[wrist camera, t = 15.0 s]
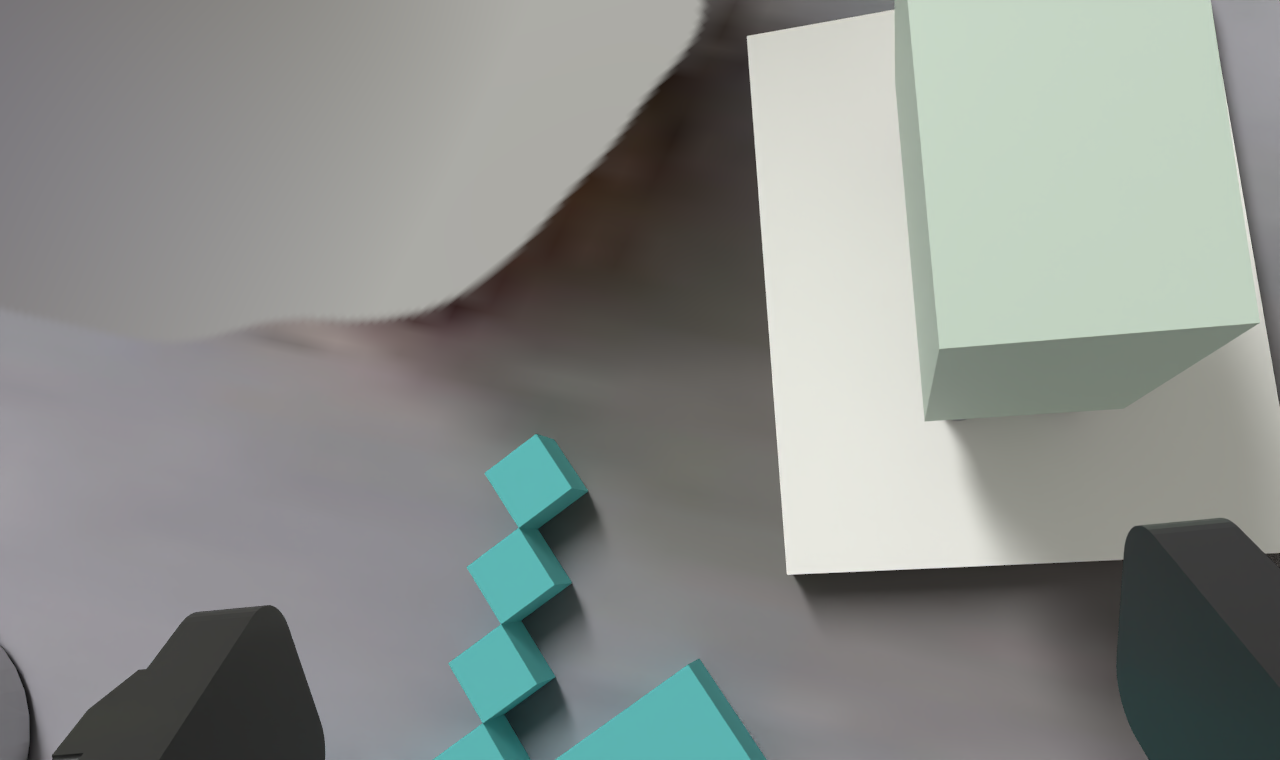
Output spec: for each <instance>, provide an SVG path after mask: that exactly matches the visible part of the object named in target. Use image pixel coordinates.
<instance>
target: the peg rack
mask: <svg viewBox="0 0 1280 760" xmlns="http://www.w3.org/2000/svg"><path fill="white" fill-rule="evenodd" d="M747 46H748V60H749V73H750V86H751V100H752V113H753V127H754V140H755V153H756V167H757V180H758V193H759V207H760V220H761V233H762V247H763V260H764V273H765V287H766V300H767V313H768V327H769V340H770V353H771V367H772V380H773V394H774V407H775V420H776V434H777V447H778V460H779V474H780V487H781V500H782V514H783V527H784V540H785V554H786V567H787V575H793V574H816V573H838V572H861V571H883V570H906V569H928V568H951V567H973V566H996V565H1018V564H1041V563H1063V562H1086V561H1108V560H1123V557H1124V546H1125V541H1126V537H1127V535H1128V533H1129V531H1130V530H1131V528H1133V527H1134V526H1138V525H1149V524H1159V523H1170V522H1181V521H1191V520H1202V519H1212V518H1226V519H1228V520H1230V521H1232V522H1233V523H1234V524H1236V525H1237V526H1238V527H1239V528H1240V529H1241V530H1242V531H1243V532H1244V533H1245V534H1246V535H1247V536H1248V537H1249V538H1250V539H1251V540H1252V541H1253V542H1254V543H1255V544H1256V545H1257V546H1258V547H1259V548H1260V549H1261V550H1262V551H1263V552H1264V553H1265V554H1266V553H1280V406H1279V400H1278V395H1277V389H1276V383H1275V377H1274V371H1273V366H1272V360H1271V354H1270V348H1269V343H1268V337H1267V331H1266V325H1265V319H1264V314H1263V308H1262V302H1261V296H1260V291H1259V285H1258V279H1257V273H1256V267H1255V262H1254V256H1253V250H1252V244H1251V238H1250V233H1249V227H1248V221H1247V215H1246V210H1245V204H1244V198H1243V192H1242V186H1241V181H1240V175H1239V169H1238V163H1237V158H1236V152H1235V146H1234V140H1233V134H1232V129H1231V123H1230V117H1229V111H1228V105H1227V111H1228V117H1229V124H1230V130H1231V137H1232V143H1233V150H1234V156H1235V163H1236V169H1237V176H1238V182H1239V189H1240V195H1241V202H1242V208H1243V215H1244V221H1245V228H1246V235H1247V241H1248V248H1249V254H1250V261H1251V267H1252V274H1253V280H1254V287H1255V293H1256V300H1257V306H1258V313H1259V319H1260V323H1259V324H1257V325H1256V326H1254V327H1253V328H1251V329H1249V330H1248V331H1246V332H1245V333H1243V334H1241V335H1240V336H1238V337H1237V338H1235V339H1234V340H1232V341H1230V342H1229V343H1227V344H1226V345H1224V346H1222V347H1221V348H1219V349H1218V350H1216V351H1214V352H1213V353H1211V354H1210V355H1208V356H1207V357H1205V358H1203V359H1202V360H1200V361H1199V362H1197V363H1195V364H1194V365H1192V366H1191V367H1189V368H1188V369H1186V370H1184V371H1183V372H1181V373H1180V374H1178V375H1176V376H1175V377H1173V378H1172V379H1170V380H1168V381H1167V382H1165V383H1164V384H1162V385H1161V386H1159V387H1157V388H1156V389H1154V390H1153V391H1151V392H1149V393H1148V394H1146V395H1145V396H1143V397H1142V398H1140V399H1138V400H1137V401H1135V402H1134V403H1132V404H1130V405H1129V406H1127V407H1126V408H1124V409H1111V410H1096V411H1080V412H1065V413H1050V414H1034V415H1019V416H1003V417H988V418H972V419H957V420H941V421H926V422H925V420H924V409H923V397H922V386H921V374H920V363H919V351H918V340H917V328H916V317H915V305H914V294H913V283H912V271H911V260H910V248H909V237H908V225H907V214H906V202H905V191H904V179H903V168H902V156H901V145H900V133H899V122H898V110H897V99H896V87H895V10H889V11H884V12H878V13H873V14H867V15H862V16H856V17H851V18H845V19H839V20H834V21H828V22H823V23H817V24H812V25H806V26H800V27H795V28H789V29H784V30H778V31H773V32H767V33H762V34H756V35H750V36H747ZM1221 72H1222V71H1221ZM1222 78H1223V77H1222ZM1223 85H1224V82H1223ZM1224 91H1225V88H1224ZM1225 98H1226V94H1225ZM1226 104H1227V100H1226Z"/></svg>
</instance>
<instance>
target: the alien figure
mask: <svg viewBox="0 0 1280 760" xmlns="http://www.w3.org/2000/svg"><path fill="white" fill-rule="evenodd" d="M485 475H486V477H487V478H488V480H489V481H490V483H491V484H492V486H493V488H494V489H495V491H496V492H497V494H498V496H499V497H500V499H501V500H502V502H503V504H504V505H505V507H506V508H507V510H508V511H509V513H510V515H511V516H512V518H513V519H514V521H515V523H516V524H517V526H518V527H519V528H518V529H517V530H515V531H514V532H513V533H511V534H510V535H509V536H507V537H506V538H505V539H503V540H502V541H501V542H499V543H498V544H497V545H495V546H494V547H493V548H491V549H490V550H489V551H487V552H486V553H485V554H483V555H482V556H481V557H479V558H478V559H477V560H475V561H474V562H473V563H471V564H470V565H469V566H467V569H468V570H469V572H470V574H471V575H472V577H473V579H474V580H475V582H476V584H477V585H478V587H479V589H480V590H481V592H482V594H483V595H484V597H485V599H486V600H487V602H488V603H489V605H490V607H491V608H492V610H493V612H494V613H495V615H496V617H497V618H498V620H499V622H500V623H501V625H499V626H498V627H497V628H495V629H494V630H493V631H491V632H490V633H489V634H487V635H486V636H485V637H483V638H482V639H481V640H479V641H478V642H476V643H475V644H474V645H472V646H471V647H470V648H468V649H467V650H466V651H464V652H463V653H462V654H460V655H459V656H458V657H456V658H455V659H453V660H452V661H451V662H449V663H448V664H449V665H450V667H451V669H452V671H453V672H454V674H455V676H456V678H457V679H458V681H459V683H460V685H461V686H462V688H463V690H464V691H465V693H466V695H467V697H468V698H469V700H470V702H471V704H472V705H473V707H474V709H475V711H476V712H477V714H478V716H479V717H480V719H481V721H482V723H483V724H481V725H480V726H478V727H477V728H476V729H474V730H473V731H472V732H470V733H469V734H467V735H466V736H465V737H463V738H462V739H461V740H459V741H458V742H456V743H455V744H454V745H452V746H451V747H450V748H448V749H447V750H445V751H444V752H443V753H441V754H440V755H439V756H437V757H436V758H434V759H433V760H531V759H530V758H529V756H528V754H527V753H526V751H525V749H524V747H523V746H522V744H521V742H520V741H519V739H518V737H517V736H516V734H515V732H514V730H513V729H512V727H511V725H510V724H509V722H508V720H507V718H506V717H505V715H504V714H505V713H507V712H508V711H510V710H511V709H512V708H514V707H515V706H516V705H518V704H519V703H521V702H522V701H523V700H525V699H526V698H527V697H529V696H530V695H532V694H533V693H534V692H536V691H537V690H538V689H540V688H541V687H543V686H544V685H545V684H547V683H548V682H549V681H551V680H552V679H554V678H555V675H554V674H553V672H552V670H551V669H550V667H549V665H548V664H547V662H546V660H545V659H544V657H543V656H542V654H541V652H540V651H539V649H538V647H537V646H536V644H535V642H534V641H533V639H532V638H531V636H530V634H529V633H528V631H527V629H526V628H525V626H524V624H523V623H522V621H521V620H523V619H524V618H525V617H527V616H528V615H529V614H531V613H532V612H534V611H535V610H536V609H538V608H539V607H540V606H542V605H543V604H544V603H546V602H547V601H548V600H550V599H551V598H552V597H554V596H555V595H557V594H558V593H559V592H561V591H562V590H563V589H565V588H566V587H567V586H569V585H570V584H571V583H572V582H571V580H570V579H569V577H568V576H567V574H566V573H565V571H564V569H563V568H562V566H561V565H560V563H559V562H558V560H557V558H556V557H555V555H554V554H553V552H552V551H551V549H550V547H549V546H548V544H547V543H546V541H545V540H544V538H543V536H542V535H541V533H540V532H539V530H538V529H539V528H540V527H541V526H543V525H544V524H545V523H547V522H548V521H549V520H551V519H552V518H553V517H555V516H556V515H557V514H559V513H560V512H561V511H563V510H564V509H565V508H567V507H568V506H569V505H571V504H572V503H573V502H575V501H576V500H577V499H579V498H580V497H581V496H583V495H584V494H585V493H587V492H588V490H587V489H586V487H585V486H584V484H583V483H582V481H581V479H580V478H579V476H578V475H577V473H576V472H575V470H574V469H573V467H572V466H571V464H570V463H569V461H568V460H567V458H566V457H565V455H564V454H563V452H562V451H561V449H560V448H559V446H558V445H557V443H556V442H555V440H554V439H551V438H548V437H544V436H541V435H538V434H535V435H534V436H533V437H531V438H530V439H529V440H527V441H526V442H525V443H523V444H522V445H521V446H519V447H518V448H517V449H516V450H514V451H513V452H512V453H510V454H509V455H508V456H506V457H505V458H504V459H502V460H501V461H500V462H499V463H497V464H496V465H495V466H493V467H492V468H491V469H489V470H488V471H487V472H485ZM555 760H766V758H765V757H764V755H763V754H762V752H761V751H760V749H759V748H758V746H757V745H756V743H755V742H754V740H753V739H752V737H751V736H750V734H749V733H748V731H747V730H746V728H745V727H744V725H743V724H742V722H741V721H740V719H739V718H738V716H737V715H736V713H735V712H734V710H733V709H732V707H731V706H730V704H729V703H728V701H727V700H726V698H725V697H724V695H723V694H722V692H721V691H720V689H719V688H718V686H717V685H716V683H715V682H714V680H713V678H712V677H711V675H710V674H709V672H708V671H707V669H706V668H705V666H704V665H703V663H702V662H701V660H700V659H698V660H696V661H694V662H692V663H690V664H688V665H687V666H685V667H684V668H683V669H681V670H680V671H678V672H677V673H676V674H674V675H673V676H671V677H670V678H669V679H667V680H666V681H664V682H663V683H662V684H660V685H659V686H657V687H656V688H655V689H653V690H652V691H650V692H649V693H648V694H646V695H645V696H643V697H642V698H641V699H639V700H638V701H637V702H635V703H634V704H632V705H631V706H630V707H628V708H627V709H625V710H624V711H623V712H621V713H620V714H618V715H617V716H616V717H614V718H613V719H611V720H610V721H609V722H607V723H606V724H604V725H603V726H602V727H600V728H599V729H597V730H596V731H595V732H593V733H592V734H590V735H589V736H588V737H586V738H585V739H583V740H582V741H581V742H579V743H578V744H576V745H575V746H574V747H572V748H571V749H569V750H568V751H567V752H565V753H564V754H562V755H561V756H560V757H558V758H557V759H555Z"/></svg>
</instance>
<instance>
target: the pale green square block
mask: <svg viewBox="0 0 1280 760" xmlns="http://www.w3.org/2000/svg"><path fill="white" fill-rule="evenodd" d="M894 3H895V87H896V99H897V110H898V122H899V133H900V145H901V156H902V168H903V179H904V191H905V202H906V214H907V225H908V237H909V248H910V260H911V271H912V283H913V294H914V305H915V317H916V328H917V340H918V351H919V363H920V374H921V386H922V397H923V409H924V420H925V422H926V421H941V420H957V419H972V418H988V417H1003V416H1019V415H1034V414H1050V413H1065V412H1080V411H1096V410H1111V409H1124V408H1126V407H1127V406H1129V405H1130V404H1132V403H1134V402H1135V401H1137V400H1138V399H1140V398H1142V397H1143V396H1145V395H1146V394H1148V393H1149V392H1151V391H1153V390H1154V389H1156V388H1157V387H1159V386H1161V385H1162V384H1164V383H1165V382H1167V381H1168V380H1170V379H1172V378H1173V377H1175V376H1176V375H1178V374H1180V373H1181V372H1183V371H1184V370H1186V369H1188V368H1189V367H1191V366H1192V365H1194V364H1195V363H1197V362H1199V361H1200V360H1202V359H1203V358H1205V357H1207V356H1208V355H1210V354H1211V353H1213V352H1214V351H1216V350H1218V349H1219V348H1221V347H1222V346H1224V345H1226V344H1227V343H1229V342H1230V341H1232V340H1234V339H1235V338H1237V337H1238V336H1240V335H1241V334H1243V333H1245V332H1246V331H1248V330H1249V329H1251V328H1253V327H1254V326H1256V325H1257V324H1259V323H1260V319H1259V313H1258V306H1257V300H1256V293H1255V287H1254V280H1253V274H1252V267H1251V261H1250V254H1249V248H1248V241H1247V235H1246V228H1245V221H1244V215H1243V208H1242V202H1241V195H1240V189H1239V182H1238V176H1237V169H1236V163H1235V156H1234V150H1233V143H1232V137H1231V130H1230V124H1229V117H1228V111H1227V104H1226V98H1225V91H1224V85H1223V78H1222V72H1221V65H1220V59H1219V52H1218V46H1217V39H1216V33H1215V26H1214V20H1213V13H1212V7H1211V0H894Z"/></svg>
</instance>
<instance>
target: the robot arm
mask: <svg viewBox="0 0 1280 760" xmlns="http://www.w3.org/2000/svg"><path fill="white" fill-rule="evenodd" d="M1116 668H1117V680H1118V687H1119V692H1120V696H1121V701H1122V704H1123V708H1124V711H1125V714H1126V717H1127V719H1128V722H1129V724H1130V727H1131V729H1132V731H1133V733H1134V735H1135V737H1136V739H1137V740H1138V742H1139V744H1140V745H1141V747H1142V749H1143V750H1144V752H1145V754H1146V755H1147V757H1148V759H1149V760H1280V568H1279V567H1278V566H1277V565H1276V564H1275V563H1274V562H1273V561H1272V560H1271V559H1270V558H1269V557H1268V556H1267V555H1266V554H1265V553H1264V552H1263V551H1262V550H1261V549H1260V548H1259V547H1258V546H1257V545H1256V544H1255V543H1254V542H1253V541H1252V540H1251V539H1250V538H1249V537H1248V536H1247V535H1246V534H1245V533H1244V532H1243V531H1242V530H1241V529H1240V528H1239V527H1238V526H1237V525H1236V524H1234V523H1233V522H1232V521H1230V520H1228V519H1226V518H1212V519H1202V520H1191V521H1181V522H1170V523H1159V524H1149V525H1138V526H1134V527H1133V528H1131V530H1130V531H1129V533H1128V535H1127V537H1126V541H1125V546H1124V557H1123V572H1122V587H1121V601H1120V616H1119V631H1118V646H1117V664H1116ZM29 742H30V733H29V712H28V706H27V701H26V696H25V690H24V688H23V685H22V683H21V680H20V678H19V675H18V673H17V670H16V668H15V666H14V665H13V663H12V662H11V660H10V659H9V657H8V656H7V654H6V652H5V651H4V650H3V649H2V648H1V647H0V760H27V756H28V749H29ZM52 758H53V759H52V760H325V741H324V734H323V729H322V725H321V722H320V719H319V716H318V713H317V710H316V707H315V704H314V701H313V698H312V695H311V692H310V689H309V686H308V683H307V680H306V677H305V674H304V671H303V668H302V666H301V663H300V660H299V657H298V654H297V651H296V648H295V645H294V642H293V639H292V636H291V633H290V630H289V627H288V625H287V622H286V620H285V618H284V616H283V615H282V613H281V612H280V611H279V610H278V609H277V608H275V607H274V606H270V605H267V606H256V607H245V608H235V609H224V610H214V611H203V612H195V613H193V614H191V615H189V616H188V617H186V618H185V619H184V621H183V622H182V623H181V624H180V625H179V627H178V628H177V629H176V631H175V632H174V633H173V635H172V636H171V637H170V639H169V640H168V641H167V643H166V644H165V645H164V647H163V648H162V649H161V651H160V652H159V653H158V655H157V656H156V657H155V659H154V660H153V661H152V663H151V664H150V665H149V667H148V668H147V669H143V670H138V671H137V672H135V673H134V674H133V675H132V676H130V677H129V678H128V679H127V680H125V681H124V682H123V683H121V684H120V685H119V686H118V687H116V688H115V689H114V690H113V691H111V692H110V693H109V694H108V695H106V696H105V697H104V698H102V699H101V700H100V701H99V702H97V703H96V704H95V705H94V706H92V707H91V708H90V709H89V710H88V711H87V712H86V713H85V714H84V716H83V717H82V718H81V719H80V721H79V722H78V723H77V724H76V726H75V727H74V728H73V730H72V731H71V732H70V733H69V735H68V736H67V737H66V738H65V740H64V741H63V742H62V743H61V745H60V746H59V747H58V748H57V750H56V751H55V752H54V754H53V755H52Z"/></svg>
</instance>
